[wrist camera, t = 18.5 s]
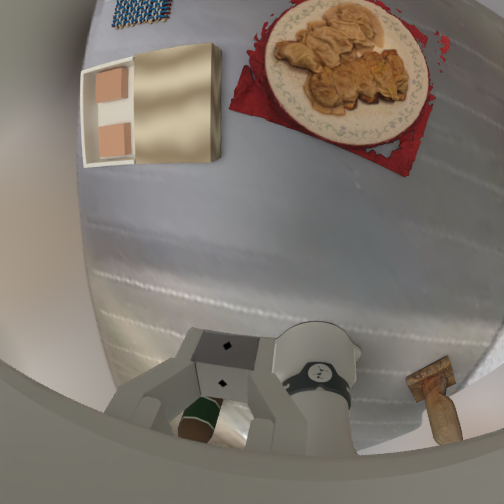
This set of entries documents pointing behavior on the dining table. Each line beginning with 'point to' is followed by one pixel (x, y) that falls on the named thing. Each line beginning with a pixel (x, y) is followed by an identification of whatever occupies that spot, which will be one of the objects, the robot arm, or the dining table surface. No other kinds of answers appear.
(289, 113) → the plate with food
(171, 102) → the wooden box sleeve
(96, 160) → the box
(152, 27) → the dining table surface
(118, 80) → the terracotta tile
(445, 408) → the bird sculpture
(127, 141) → the terracotta tile
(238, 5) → the dining table surface
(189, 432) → the beer bottle
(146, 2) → the woven mat
